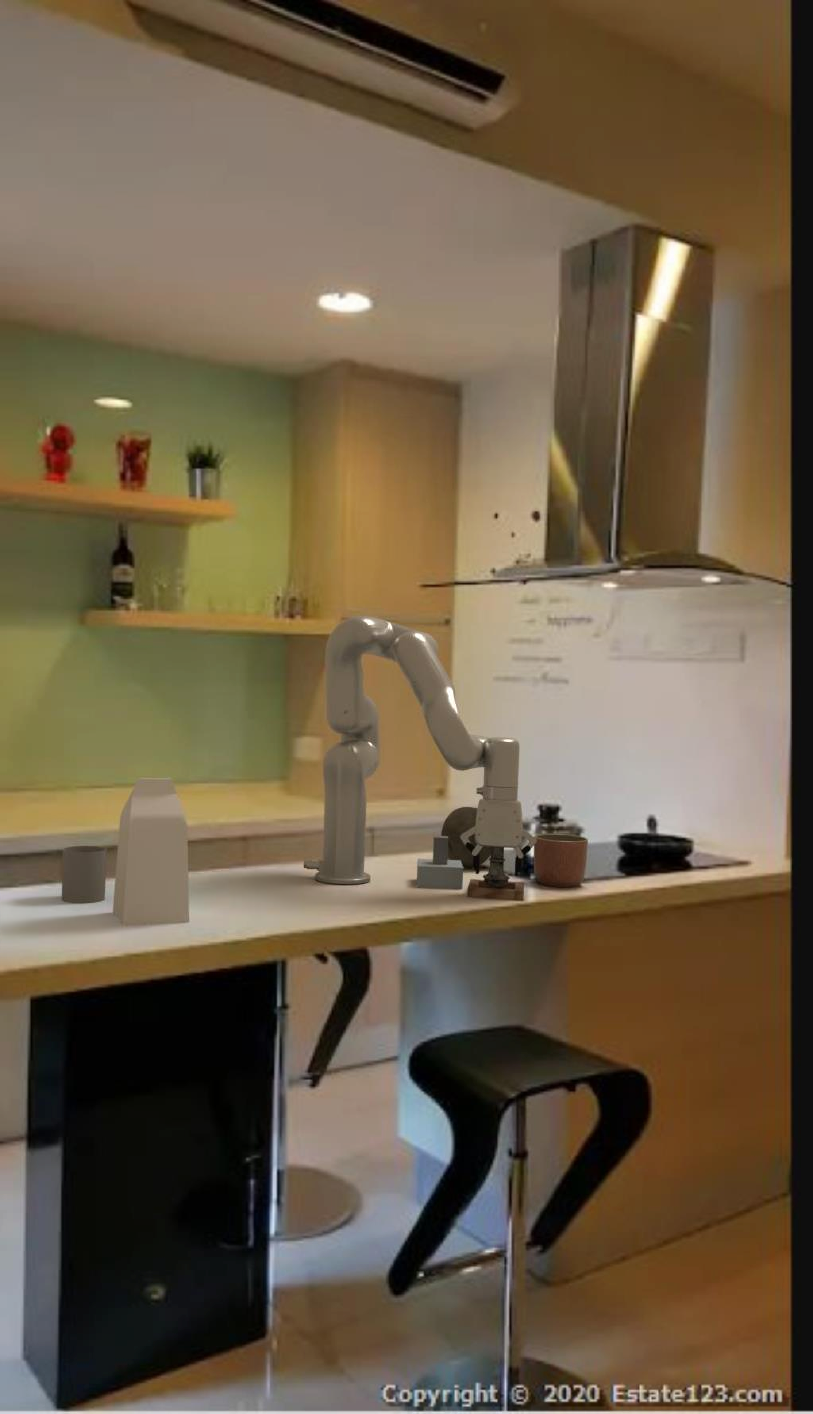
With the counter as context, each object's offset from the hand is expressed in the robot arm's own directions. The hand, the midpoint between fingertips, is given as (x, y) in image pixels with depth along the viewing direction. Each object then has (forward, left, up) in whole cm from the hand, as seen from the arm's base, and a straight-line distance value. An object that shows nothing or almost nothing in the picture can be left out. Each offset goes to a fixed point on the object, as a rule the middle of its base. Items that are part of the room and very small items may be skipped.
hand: (496, 873), depth 245 cm
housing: (-13, +8, -5) cm, 16 cm away
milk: (-63, -43, -5) cm, 76 cm away
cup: (-81, -31, -5) cm, 87 cm away
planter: (+14, +17, -5) cm, 23 cm away
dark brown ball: (-8, +33, -5) cm, 34 cm away
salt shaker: (0, 0, -4) cm, 4 cm away
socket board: (0, 0, -4) cm, 4 cm away
